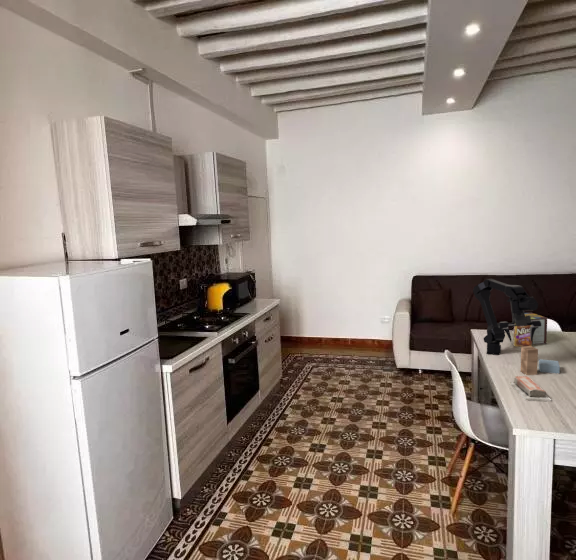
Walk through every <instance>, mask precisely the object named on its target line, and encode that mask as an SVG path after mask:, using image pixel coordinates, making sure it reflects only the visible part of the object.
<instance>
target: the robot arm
mask: <svg viewBox="0 0 576 560" xmlns="http://www.w3.org/2000/svg"><path fill="white" fill-rule="evenodd" d="M493 289H494V290H497V291H500V292H503V293H504V294H505V296H506V297H509V298H508V299H507V300H506V302H507V303H510V310H511V318H512V322H508V321H499V322H497V317H496V315H495V312H494V309H493V306H492V303H491V300H490V298H491V295H492V294H491V291H492V290H493ZM472 292H473V295H474V297H475V298H476V300H478V302H479V303H480V306H481V308H482V312H483V315H484V318H485V321H486V324H487V327H486V335H485V336H484V337H483V342H484V343H486V352H485V353H486V355H487V354H488V355H495V356H499V355H500V354H501V353H502V345H501V343H503V342H504V340H505V338H506V336H507V337H508V339H509V341H510V342H511V343H512V336H511V332H510V328H509V327H514V326H528V325H531V326H530V339H531V341H532V339H533V335H534V332H535V330H536V328H539V327H538V326H541V321H539V320H531V317H530V316H526V317H525V313H526V312H527V311H529V312H531V311H532V312H533V311H536V310H538V308H539V304H538V303H539V302H538V301H537V299H535V297H534V296H530V295H529V294H528V293H527V291H526V290H525V288H524V287H523V285H517V284H507V283H506V282H501V281H499V280H496V279H494V278H489V279H488V278H487V279H485V280H484V281H483V282H481V283H478V284H477V285H475V286H474V287H473V289H472Z"/></svg>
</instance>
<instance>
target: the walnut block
mask: <svg viewBox="0 0 576 560" xmlns="http://www.w3.org/2000/svg"><path fill="white" fill-rule="evenodd" d="M520 348H521V349H520V350H521V351H520V373H522V374H524V375H525V374H526V375H525V376H536V375H538V365H539V349H538V348H536V347H534V346H527V347H520Z"/></svg>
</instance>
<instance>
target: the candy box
mask: <svg viewBox="0 0 576 560" xmlns="http://www.w3.org/2000/svg"><path fill="white" fill-rule="evenodd" d="M530 326H531V325H528V326H513V341H512V345H513V346H514V347H520V348H521V347H527V346H532V345H533V344H532V341H531V339H530ZM532 347H533V346H532Z"/></svg>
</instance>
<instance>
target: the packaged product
mask: <svg viewBox="0 0 576 560" xmlns="http://www.w3.org/2000/svg"><path fill="white" fill-rule="evenodd" d="M513 379H514V380H513V381H510V382H509V385H510V386H511V387H512V388H513V390H514V391H516V393H517V394H518V395H519V394H520V395H519V396H520V397H521V398H522V397H523V398H524V399H525V400H524V399H523V398H522V399H523V400H524V401H526V400H528V401H529V402H552V398H550V397H549V396H548V395H547V392H546V390H545V389H543V388H542V387H541V385H539V384H538V383H537V382H536V381H535V380H533V379H532V378H531V377H530V376H528V375H524V376H523V375H522V376H521V375H517V376H514V378H513ZM528 401H527V402H528Z"/></svg>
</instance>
